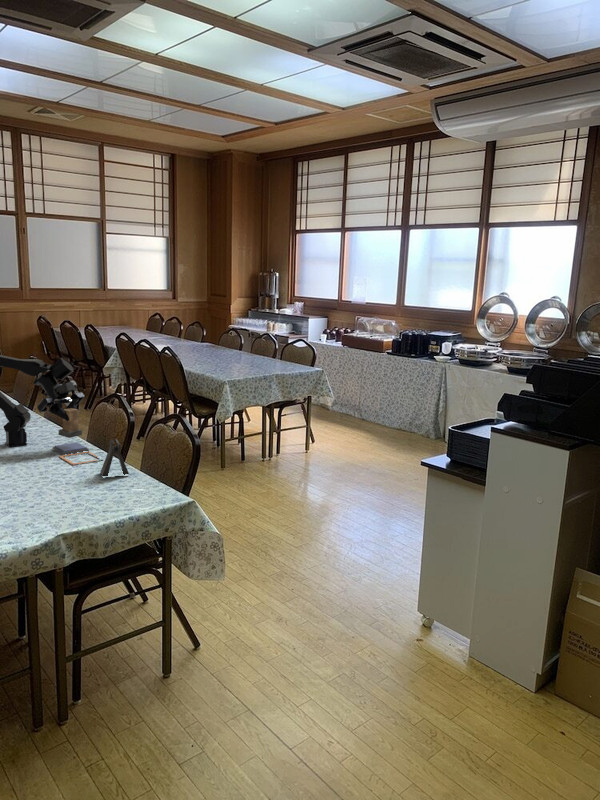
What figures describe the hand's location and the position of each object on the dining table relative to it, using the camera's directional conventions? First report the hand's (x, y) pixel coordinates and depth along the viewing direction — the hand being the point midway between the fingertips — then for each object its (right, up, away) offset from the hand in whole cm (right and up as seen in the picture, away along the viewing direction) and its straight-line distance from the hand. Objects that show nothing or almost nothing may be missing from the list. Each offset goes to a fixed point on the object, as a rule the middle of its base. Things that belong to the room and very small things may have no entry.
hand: (73, 419), depth 231 cm
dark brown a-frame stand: (+23, -19, -23) cm, 37 cm away
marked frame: (+6, -14, -7) cm, 17 cm away
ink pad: (-2, -12, +3) cm, 13 cm away
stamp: (-2, -6, +2) cm, 7 cm away
